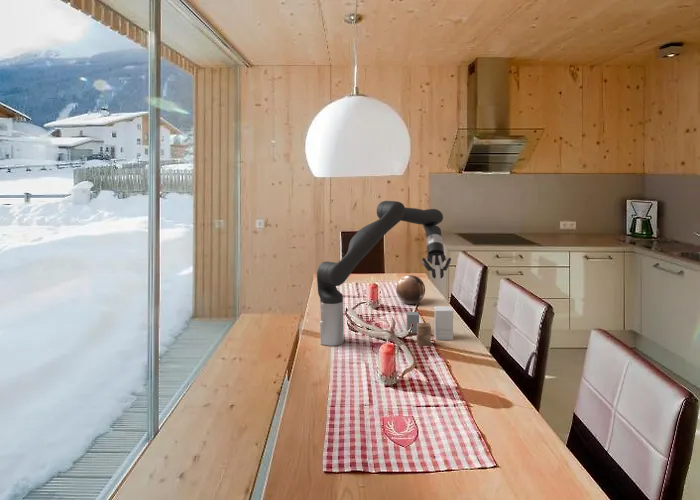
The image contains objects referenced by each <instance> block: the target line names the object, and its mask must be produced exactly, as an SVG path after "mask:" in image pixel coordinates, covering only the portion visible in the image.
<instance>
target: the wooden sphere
mask: <svg viewBox="0 0 700 500" xmlns="http://www.w3.org/2000/svg"><path fill="white" fill-rule="evenodd" d="M395 289H396V291H395V292H396V295H397V298H398V299H399V300H400V301H401V302H403V303H404V304H407V305H415V304H418V303H419V302H420V301H422V299H423V298H424V296H425V295H426V294H425V293H426V286H425V283H424V281H423V280H422V279H421V278H419V277H418V276H416V275H411V274H410V275H406V276H403V277H401V278H400V279H399V280H398V282H397V284H396V287H395Z"/></svg>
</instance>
